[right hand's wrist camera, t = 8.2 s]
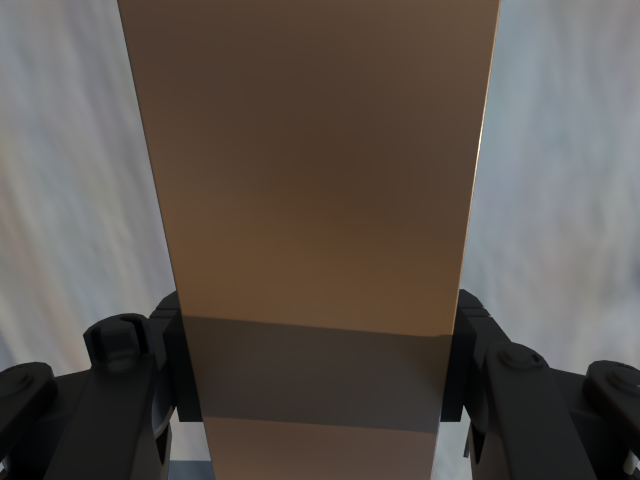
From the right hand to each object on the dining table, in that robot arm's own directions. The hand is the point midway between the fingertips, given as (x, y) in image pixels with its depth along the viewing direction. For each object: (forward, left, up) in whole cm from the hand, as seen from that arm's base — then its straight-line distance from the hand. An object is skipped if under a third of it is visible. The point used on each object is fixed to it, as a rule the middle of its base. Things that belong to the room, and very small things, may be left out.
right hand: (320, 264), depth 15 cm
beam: (+17, +29, 0) cm, 34 cm away
